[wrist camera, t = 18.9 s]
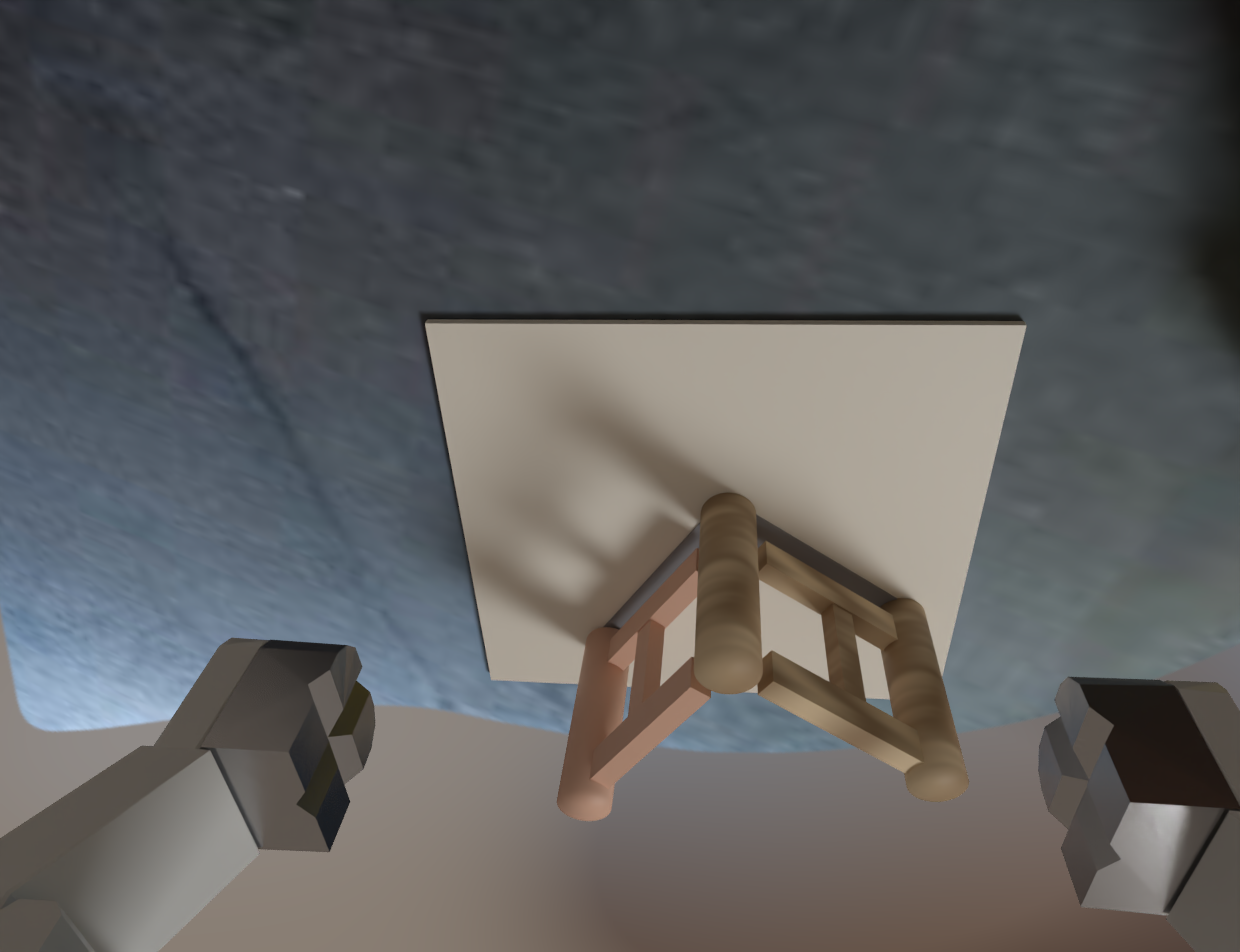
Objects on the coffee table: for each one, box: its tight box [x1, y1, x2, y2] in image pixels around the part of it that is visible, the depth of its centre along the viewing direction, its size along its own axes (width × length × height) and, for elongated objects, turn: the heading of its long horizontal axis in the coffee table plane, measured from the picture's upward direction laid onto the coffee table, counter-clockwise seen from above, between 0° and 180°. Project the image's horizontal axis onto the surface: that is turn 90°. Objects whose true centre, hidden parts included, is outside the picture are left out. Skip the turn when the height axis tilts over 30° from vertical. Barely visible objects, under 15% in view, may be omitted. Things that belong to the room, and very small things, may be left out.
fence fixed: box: [694, 493, 969, 802], centre depth 47 cm, size 16×3×12 cm, turn 57°
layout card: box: [425, 319, 1026, 699], centre depth 52 cm, size 30×27×1 cm
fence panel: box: [557, 548, 711, 821], centre depth 50 cm, size 12×3×12 cm, turn 147°
